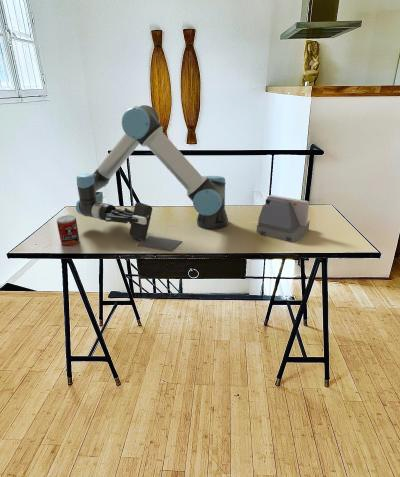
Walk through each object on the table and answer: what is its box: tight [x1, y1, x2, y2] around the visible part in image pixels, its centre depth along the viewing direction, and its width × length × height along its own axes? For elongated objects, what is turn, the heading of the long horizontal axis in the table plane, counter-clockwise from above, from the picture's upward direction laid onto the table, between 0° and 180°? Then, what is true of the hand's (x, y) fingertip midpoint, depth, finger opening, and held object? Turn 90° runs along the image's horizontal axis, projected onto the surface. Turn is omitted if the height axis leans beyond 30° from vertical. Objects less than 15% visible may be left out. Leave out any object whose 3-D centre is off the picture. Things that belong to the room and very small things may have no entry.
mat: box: [136, 235, 183, 252], centre depth 146 cm, size 16×10×1 cm, turn 68°
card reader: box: [129, 201, 153, 241], centre depth 149 cm, size 9×4×15 cm, turn 41°
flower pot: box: [96, 191, 104, 203], centre depth 187 cm, size 9×9×9 cm
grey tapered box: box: [256, 194, 311, 243], centre depth 155 cm, size 21×21×15 cm
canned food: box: [56, 215, 80, 247], centre depth 147 cm, size 8×8×11 cm
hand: (145, 221), depth 143 cm, fingers closed
